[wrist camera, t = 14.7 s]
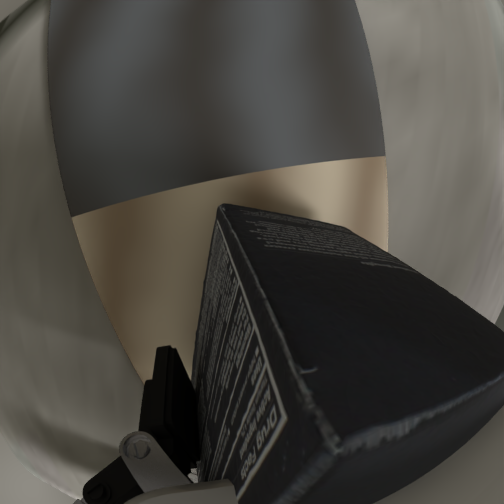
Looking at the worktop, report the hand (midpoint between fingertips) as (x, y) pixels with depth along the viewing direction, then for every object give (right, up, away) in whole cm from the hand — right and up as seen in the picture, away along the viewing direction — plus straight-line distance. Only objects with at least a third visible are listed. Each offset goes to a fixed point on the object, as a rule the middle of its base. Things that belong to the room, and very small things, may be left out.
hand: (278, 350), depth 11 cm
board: (-2, +8, +2) cm, 8 cm away
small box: (-1, +1, +3) cm, 3 cm away
